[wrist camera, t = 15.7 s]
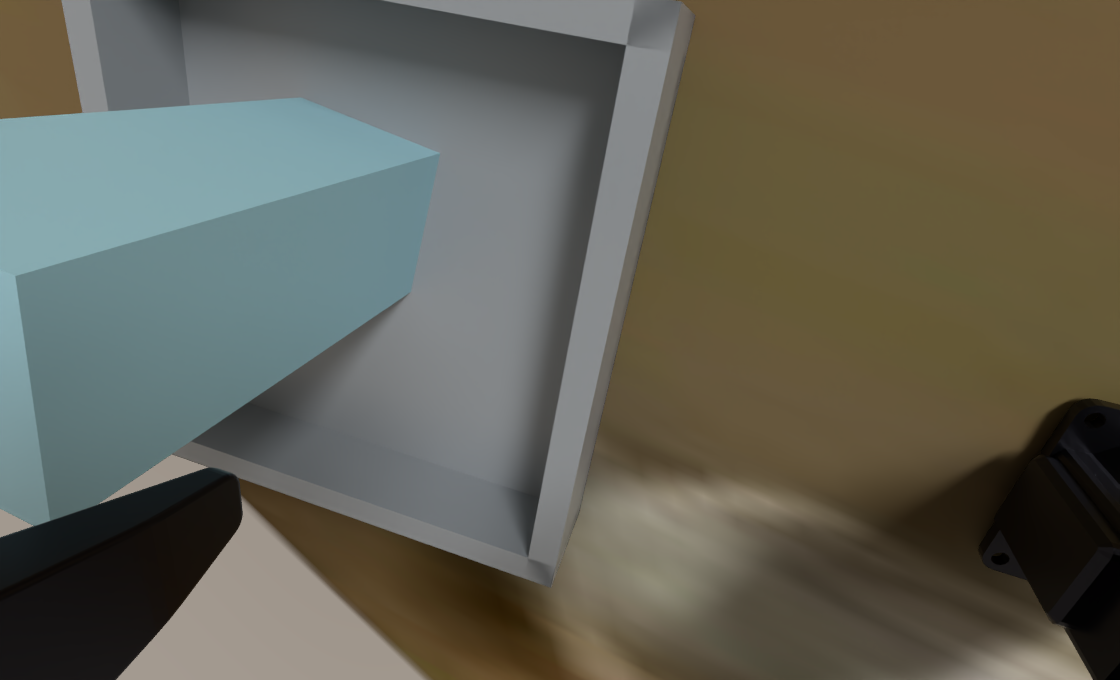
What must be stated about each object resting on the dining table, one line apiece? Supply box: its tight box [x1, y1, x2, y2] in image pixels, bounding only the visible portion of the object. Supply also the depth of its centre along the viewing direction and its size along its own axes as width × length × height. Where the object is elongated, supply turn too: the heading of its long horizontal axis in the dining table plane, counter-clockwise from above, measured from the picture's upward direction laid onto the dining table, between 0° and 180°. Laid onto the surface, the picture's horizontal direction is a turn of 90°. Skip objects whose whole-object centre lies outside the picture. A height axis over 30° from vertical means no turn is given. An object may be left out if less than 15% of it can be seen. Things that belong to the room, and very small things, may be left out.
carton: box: [0, 97, 440, 526], centre depth 14 cm, size 5×5×14 cm
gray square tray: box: [62, 0, 695, 588], centre depth 20 cm, size 17×18×4 cm
